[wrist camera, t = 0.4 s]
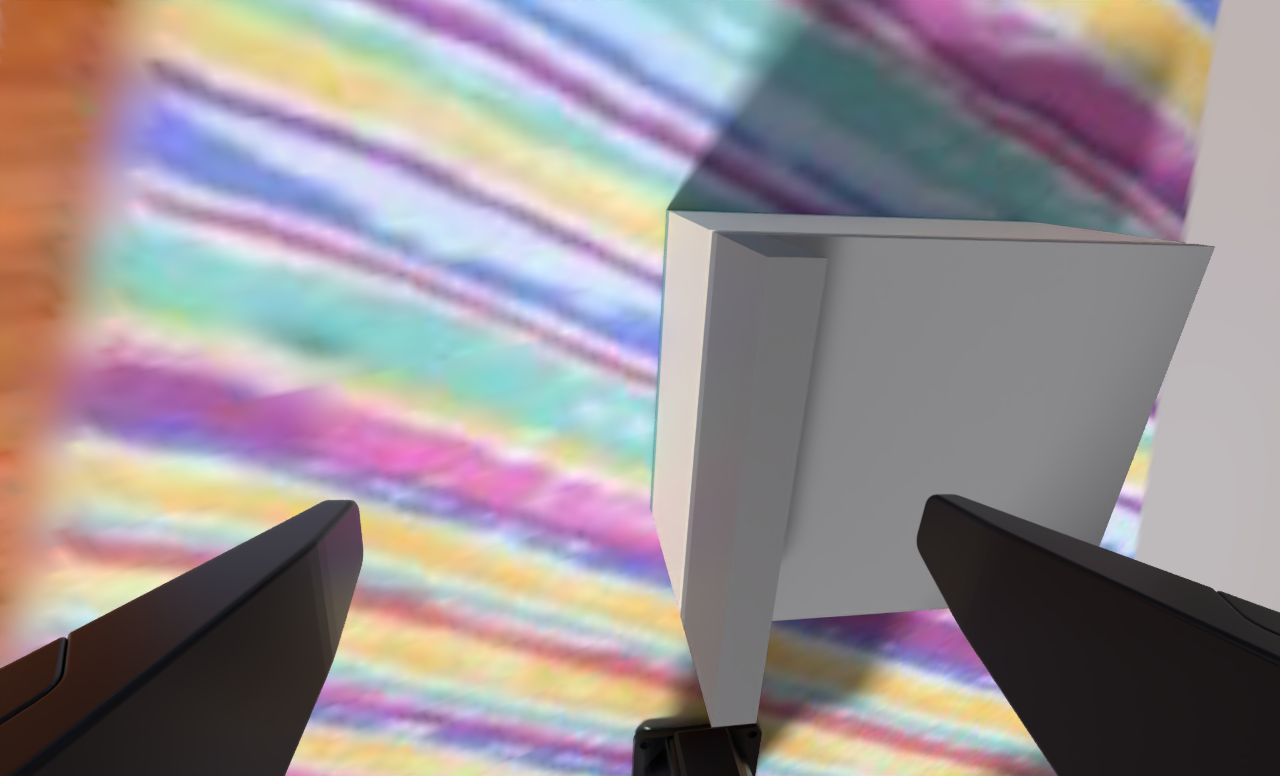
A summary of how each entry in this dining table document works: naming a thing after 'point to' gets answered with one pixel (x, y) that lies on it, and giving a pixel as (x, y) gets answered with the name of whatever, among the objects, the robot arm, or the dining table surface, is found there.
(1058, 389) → the lid
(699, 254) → the box
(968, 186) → the dining table surface
